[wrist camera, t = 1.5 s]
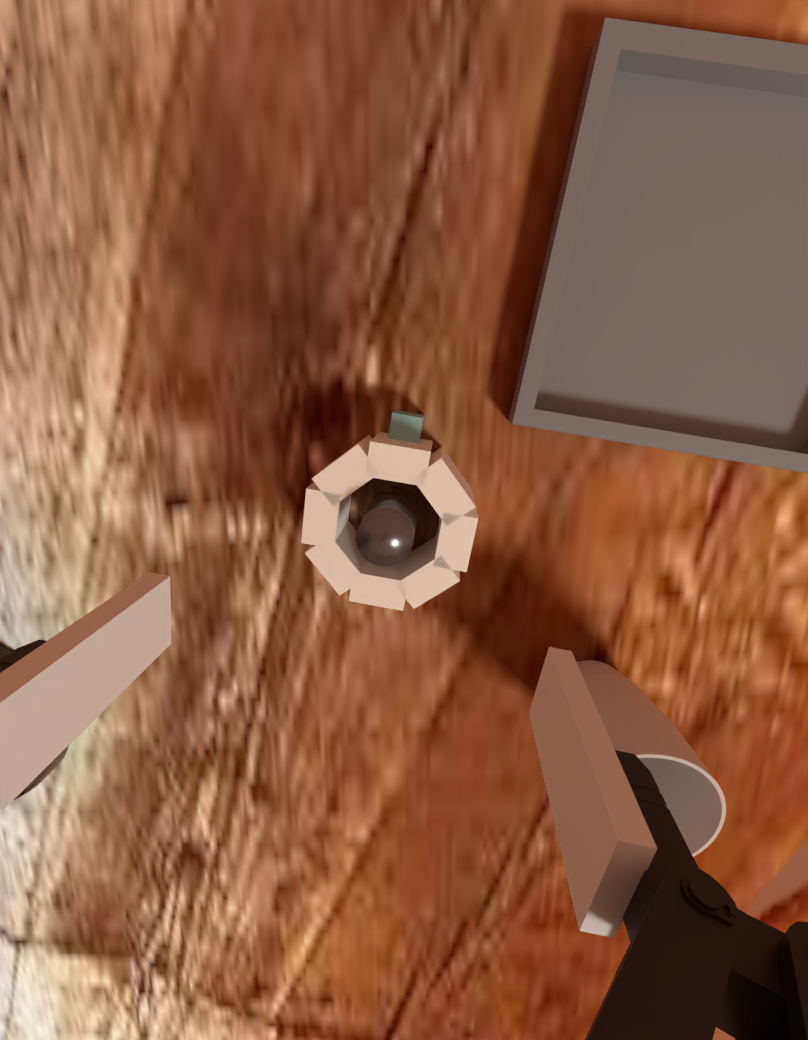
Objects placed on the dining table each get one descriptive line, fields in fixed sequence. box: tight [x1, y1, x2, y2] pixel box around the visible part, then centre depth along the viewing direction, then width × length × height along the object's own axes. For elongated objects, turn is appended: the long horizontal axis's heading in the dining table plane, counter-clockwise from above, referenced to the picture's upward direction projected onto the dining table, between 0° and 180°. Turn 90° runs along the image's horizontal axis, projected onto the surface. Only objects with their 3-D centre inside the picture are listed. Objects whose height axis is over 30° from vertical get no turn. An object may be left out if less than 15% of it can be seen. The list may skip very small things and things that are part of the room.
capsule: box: [356, 488, 419, 567], centre depth 28 cm, size 3×3×6 cm
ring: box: [301, 410, 478, 611], centre depth 28 cm, size 10×12×4 cm
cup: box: [577, 660, 726, 857], centre depth 29 cm, size 8×8×10 cm
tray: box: [508, 17, 808, 473], centre depth 24 cm, size 18×18×2 cm
